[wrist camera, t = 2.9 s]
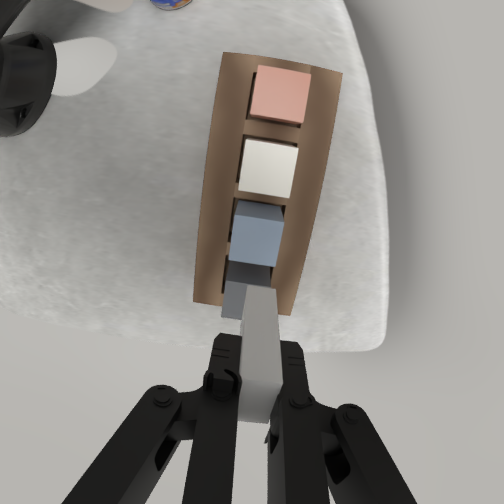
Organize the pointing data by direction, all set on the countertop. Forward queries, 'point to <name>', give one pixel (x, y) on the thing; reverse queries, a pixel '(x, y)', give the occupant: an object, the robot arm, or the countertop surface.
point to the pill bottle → (170, 4)
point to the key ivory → (268, 167)
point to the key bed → (227, 194)
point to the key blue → (256, 233)
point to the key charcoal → (242, 286)
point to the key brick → (280, 95)
